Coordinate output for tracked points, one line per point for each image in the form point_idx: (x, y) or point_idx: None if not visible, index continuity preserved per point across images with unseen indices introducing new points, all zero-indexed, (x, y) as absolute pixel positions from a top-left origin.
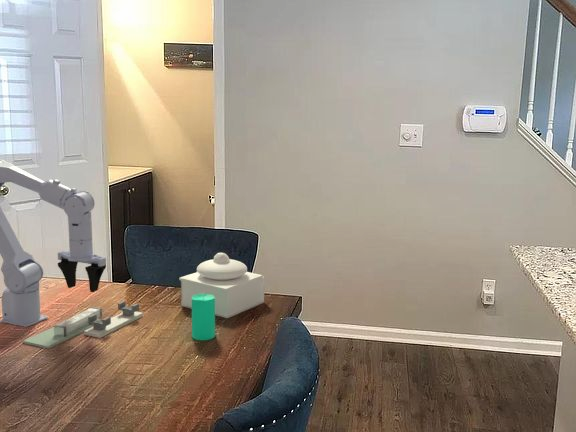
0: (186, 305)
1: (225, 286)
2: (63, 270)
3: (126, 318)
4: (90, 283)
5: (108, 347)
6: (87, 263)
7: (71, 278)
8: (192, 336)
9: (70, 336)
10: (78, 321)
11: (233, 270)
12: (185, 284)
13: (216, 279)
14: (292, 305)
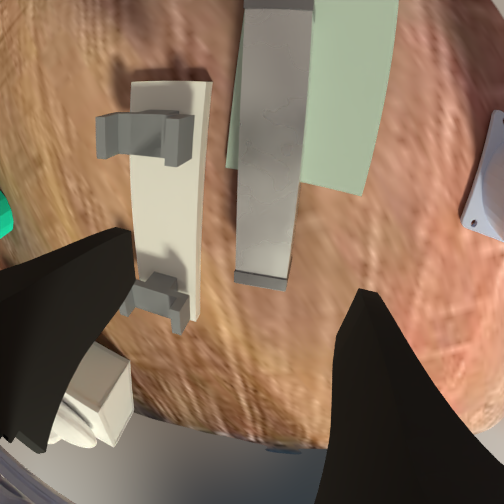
0: (114, 356)
1: None
2: (441, 439)
3: (148, 253)
4: (62, 253)
5: (82, 39)
6: (18, 466)
7: (354, 376)
8: (2, 196)
9: (243, 30)
10: (242, 105)
11: None
12: (92, 395)
13: None
14: None
